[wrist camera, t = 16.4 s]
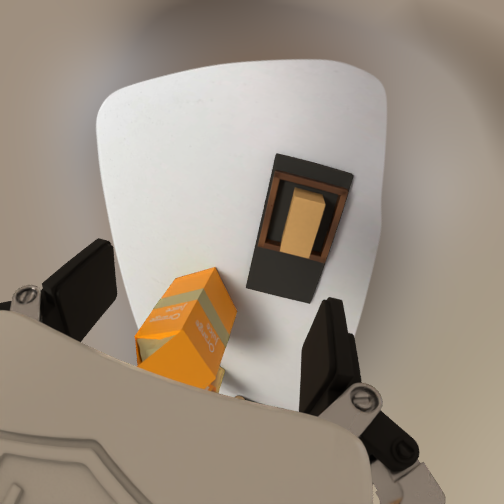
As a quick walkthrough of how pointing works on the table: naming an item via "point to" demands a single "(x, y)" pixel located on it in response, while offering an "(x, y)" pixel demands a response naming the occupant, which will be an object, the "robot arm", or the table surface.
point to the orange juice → (188, 330)
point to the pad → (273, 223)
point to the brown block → (302, 222)
